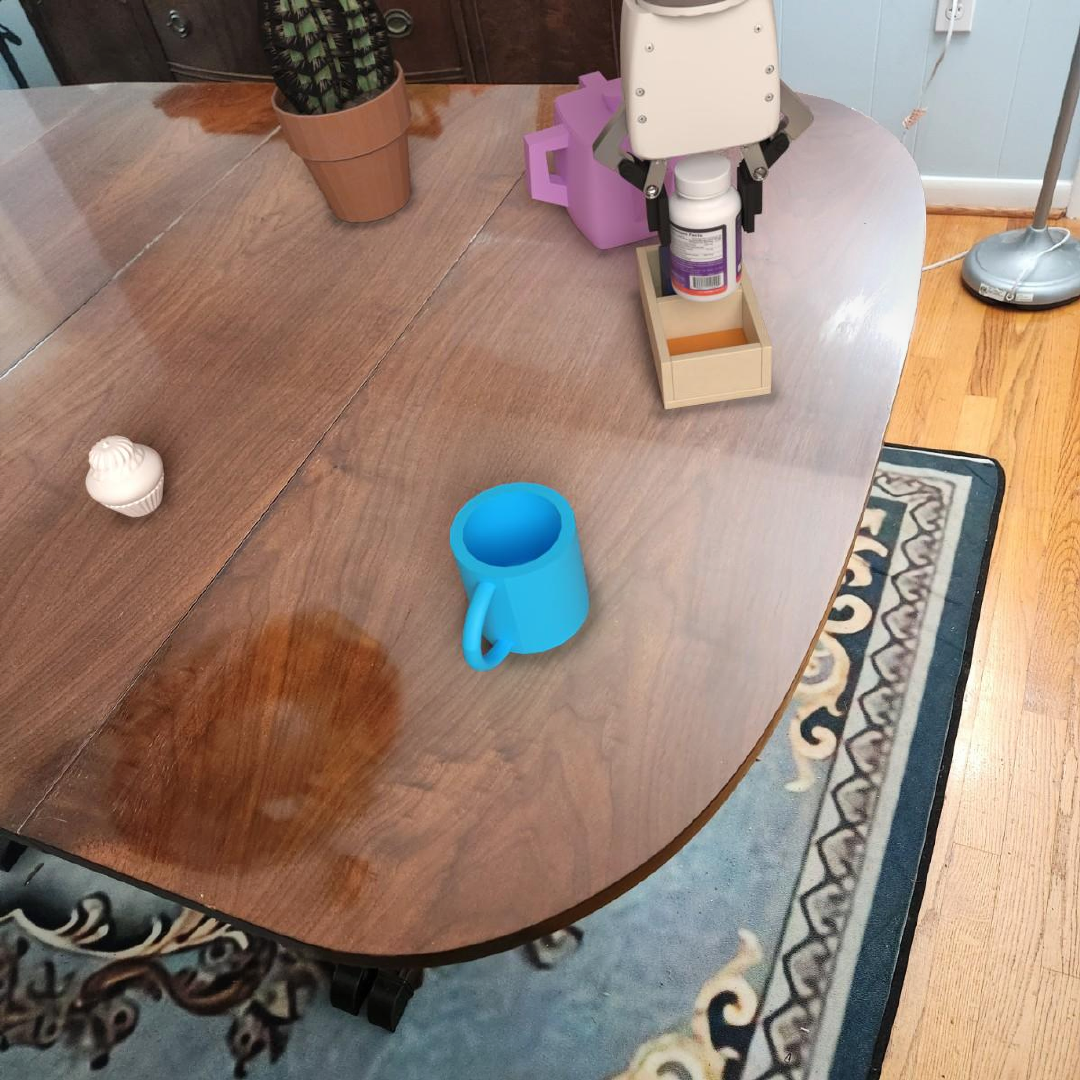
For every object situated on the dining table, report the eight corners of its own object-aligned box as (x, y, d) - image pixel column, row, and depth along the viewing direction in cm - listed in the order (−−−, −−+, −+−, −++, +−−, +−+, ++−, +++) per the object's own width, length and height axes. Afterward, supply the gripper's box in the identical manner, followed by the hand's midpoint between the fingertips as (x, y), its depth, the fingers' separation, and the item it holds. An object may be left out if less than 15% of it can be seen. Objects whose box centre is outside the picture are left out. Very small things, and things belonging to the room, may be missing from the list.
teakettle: (590, 155, 110) (577, 40, 101) (738, 172, 103) (738, 50, 94) (517, 240, 101) (494, 122, 92) (673, 266, 94) (666, 141, 85)
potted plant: (415, 233, 105) (344, -22, 87) (295, 238, 108) (202, -8, 90) (445, 165, 114) (386, -80, 95) (333, 172, 117) (255, -65, 98)
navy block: (717, 285, 90) (716, 236, 86) (727, 318, 87) (726, 268, 83) (661, 293, 90) (658, 245, 87) (669, 327, 87) (666, 278, 83)
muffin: (104, 493, 85) (63, 432, 80) (175, 467, 86) (138, 406, 81) (110, 541, 81) (66, 481, 76) (183, 514, 82) (146, 452, 77)
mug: (504, 549, 74) (483, 471, 68) (607, 575, 71) (595, 496, 65) (428, 680, 67) (397, 606, 61) (538, 715, 64) (516, 641, 58)
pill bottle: (703, 255, 80) (699, 139, 73) (756, 278, 77) (757, 159, 70) (656, 288, 78) (647, 172, 71) (709, 313, 75) (705, 195, 68)
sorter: (733, 278, 92) (733, 231, 88) (771, 394, 81) (772, 346, 77) (639, 293, 92) (635, 247, 89) (664, 410, 81) (661, 363, 78)
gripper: (823, -82, 63) (809, 185, 76) (552, -31, 64) (585, 222, 77) (855, -38, 58) (834, 238, 71) (560, 15, 59) (594, 277, 72)
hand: (704, 227), depth 74 cm, fingers closed on pill bottle, 5 cm apart
